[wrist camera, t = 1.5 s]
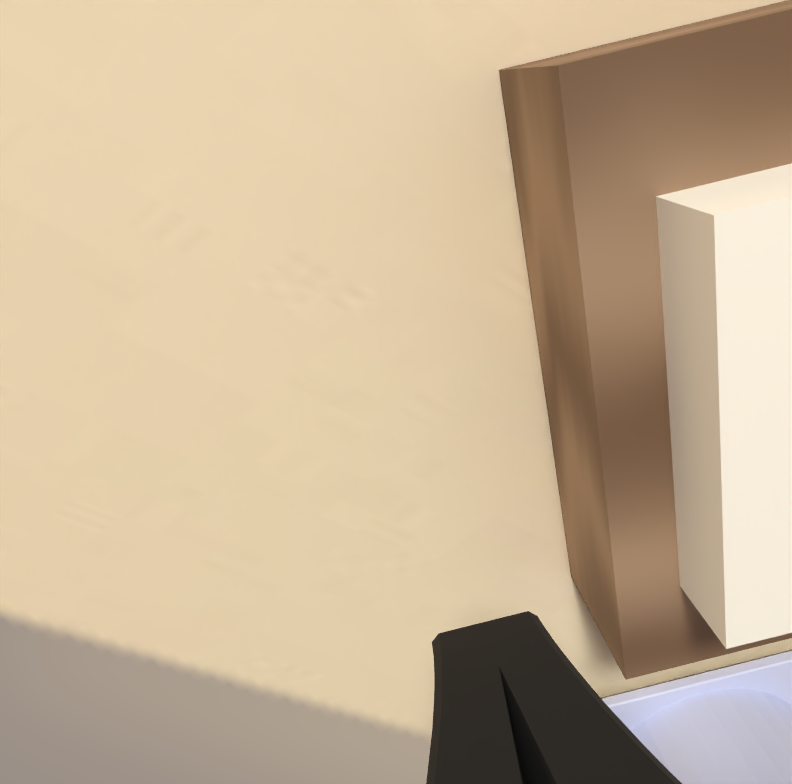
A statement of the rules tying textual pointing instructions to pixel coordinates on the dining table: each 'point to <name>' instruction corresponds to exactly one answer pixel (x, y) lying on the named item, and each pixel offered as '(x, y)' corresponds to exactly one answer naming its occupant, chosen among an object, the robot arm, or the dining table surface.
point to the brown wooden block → (631, 286)
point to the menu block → (731, 397)
